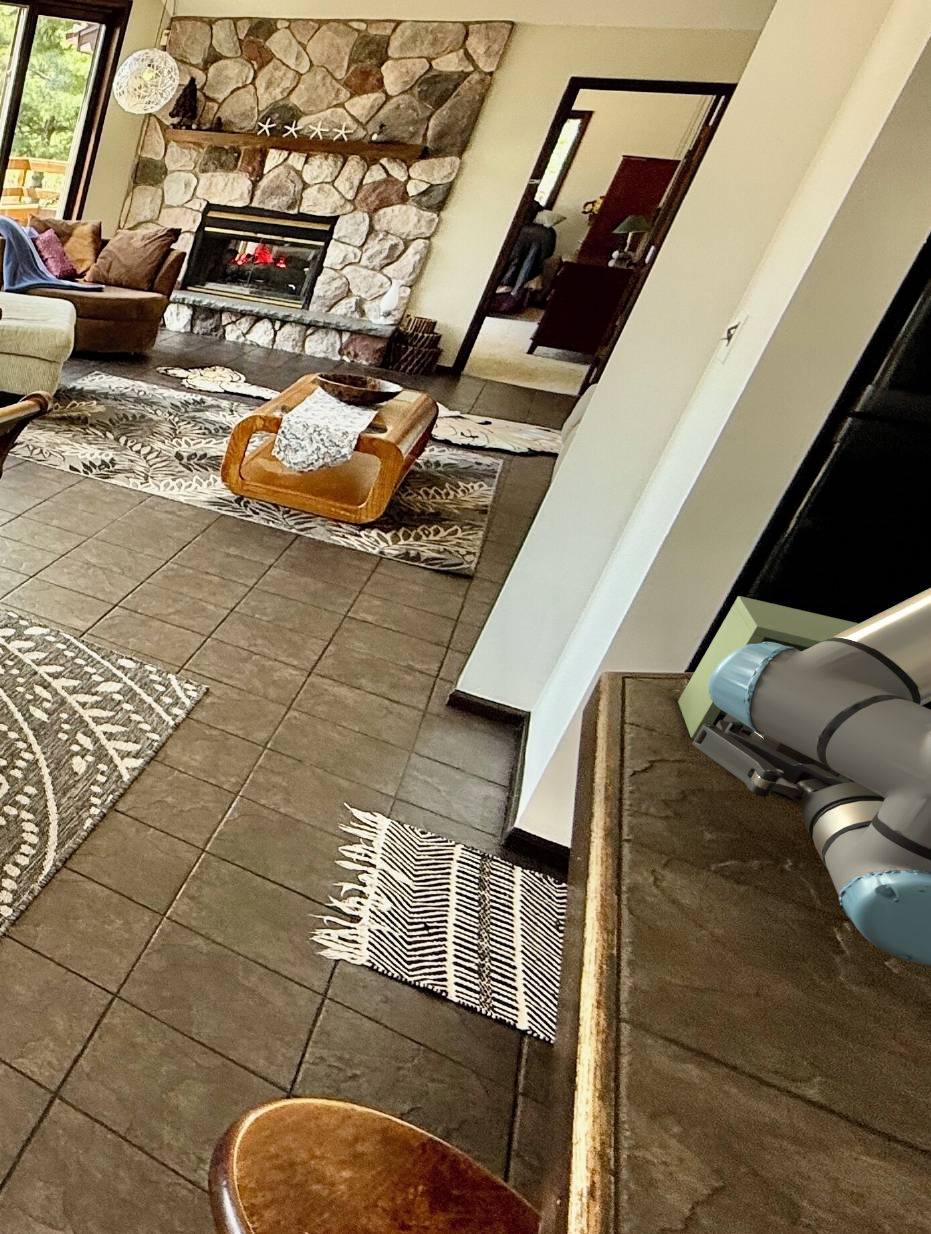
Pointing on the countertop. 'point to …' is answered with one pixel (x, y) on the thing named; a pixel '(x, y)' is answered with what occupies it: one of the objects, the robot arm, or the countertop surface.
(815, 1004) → the countertop surface
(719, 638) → the u-shaped block
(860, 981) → the countertop surface
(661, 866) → the countertop surface
